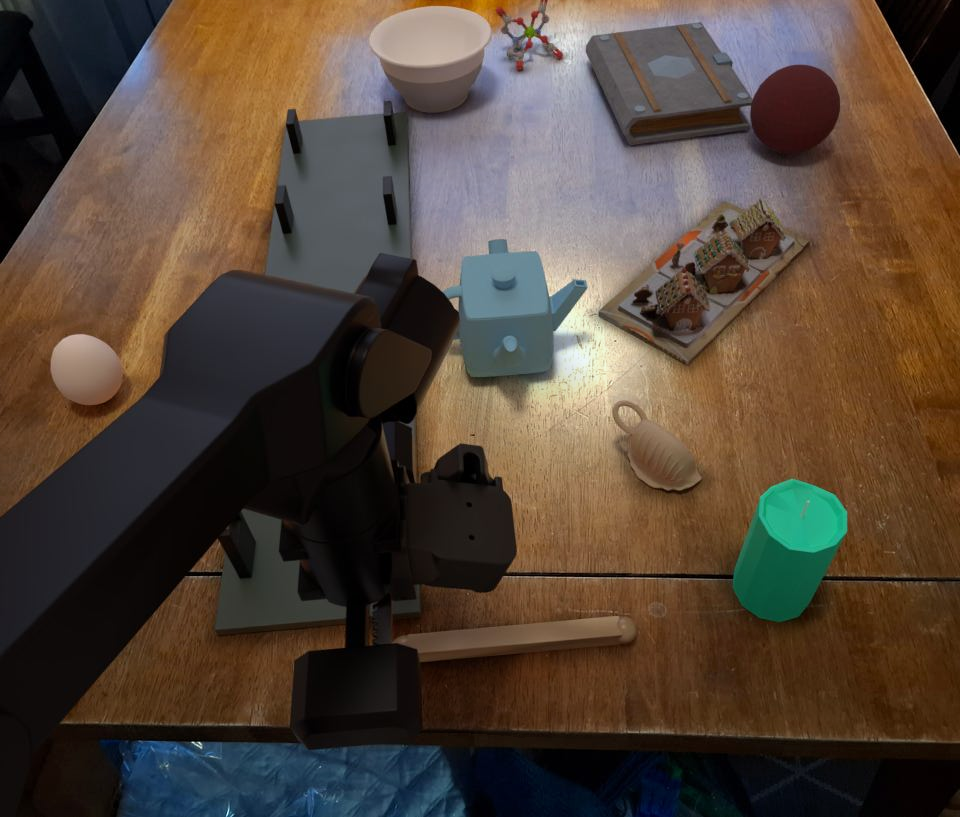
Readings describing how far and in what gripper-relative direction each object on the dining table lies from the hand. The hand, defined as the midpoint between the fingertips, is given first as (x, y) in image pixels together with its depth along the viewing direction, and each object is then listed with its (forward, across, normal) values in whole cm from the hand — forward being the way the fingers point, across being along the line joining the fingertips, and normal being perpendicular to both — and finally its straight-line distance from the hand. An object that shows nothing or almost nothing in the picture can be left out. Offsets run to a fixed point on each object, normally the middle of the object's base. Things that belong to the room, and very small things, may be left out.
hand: (382, 633), depth 53 cm
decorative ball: (+12, +65, -48) cm, 81 cm away
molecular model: (+12, +92, -19) cm, 95 cm away
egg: (+12, +34, +30) cm, 46 cm away
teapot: (+12, +35, -11) cm, 39 cm away
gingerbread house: (+12, +43, -32) cm, 55 cm away
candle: (+12, +7, -29) cm, 32 cm away
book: (+12, +79, -36) cm, 87 cm away
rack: (+12, +43, +7) cm, 45 cm away
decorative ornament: (+12, +20, -22) cm, 32 cm away
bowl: (+12, +84, -5) cm, 85 cm away
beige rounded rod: (+12, +4, -8) cm, 15 cm away
